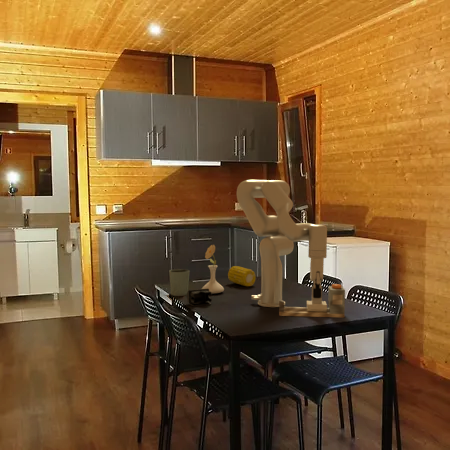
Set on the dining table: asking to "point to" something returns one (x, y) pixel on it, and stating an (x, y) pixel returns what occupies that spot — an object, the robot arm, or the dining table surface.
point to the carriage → (316, 303)
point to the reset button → (336, 286)
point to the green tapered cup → (179, 282)
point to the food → (241, 276)
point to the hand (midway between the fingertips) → (316, 296)
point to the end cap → (199, 297)
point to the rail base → (334, 310)
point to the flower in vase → (212, 273)
